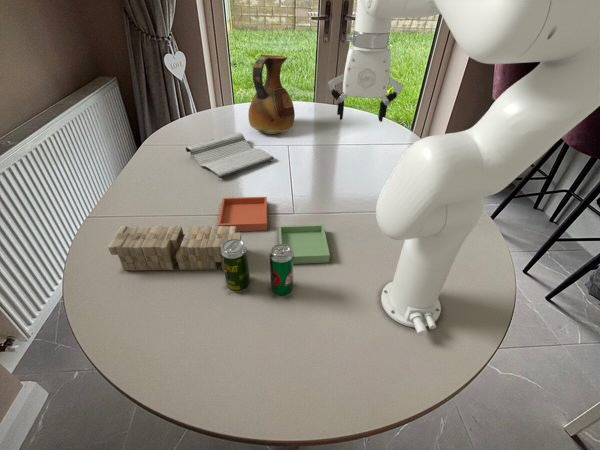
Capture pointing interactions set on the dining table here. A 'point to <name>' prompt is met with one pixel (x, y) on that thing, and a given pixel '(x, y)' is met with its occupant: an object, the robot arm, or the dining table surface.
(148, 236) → the block tower
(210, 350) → the dining table surface
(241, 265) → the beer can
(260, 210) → the terracotta tray
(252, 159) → the mat
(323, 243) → the green tray
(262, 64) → the ceramic pitcher
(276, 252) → the soda can
